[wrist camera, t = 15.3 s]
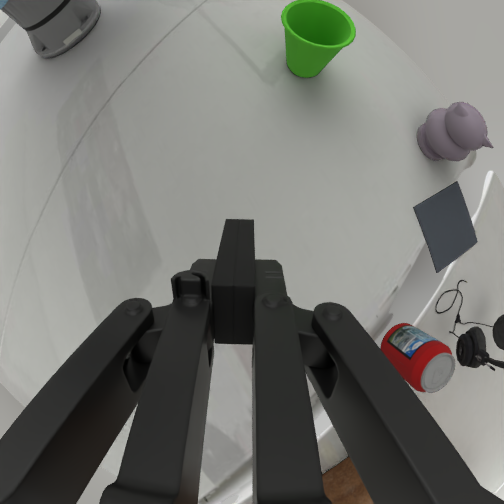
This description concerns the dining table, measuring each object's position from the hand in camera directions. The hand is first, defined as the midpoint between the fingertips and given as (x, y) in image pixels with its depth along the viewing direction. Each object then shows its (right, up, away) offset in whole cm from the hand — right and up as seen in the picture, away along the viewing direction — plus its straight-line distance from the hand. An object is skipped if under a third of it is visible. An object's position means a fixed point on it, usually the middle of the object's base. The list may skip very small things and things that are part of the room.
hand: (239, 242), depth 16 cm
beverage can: (+23, -14, +23) cm, 35 cm away
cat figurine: (+29, +17, +21) cm, 40 cm away
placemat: (+32, +4, +22) cm, 39 cm away
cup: (+8, +27, +20) cm, 35 cm away
